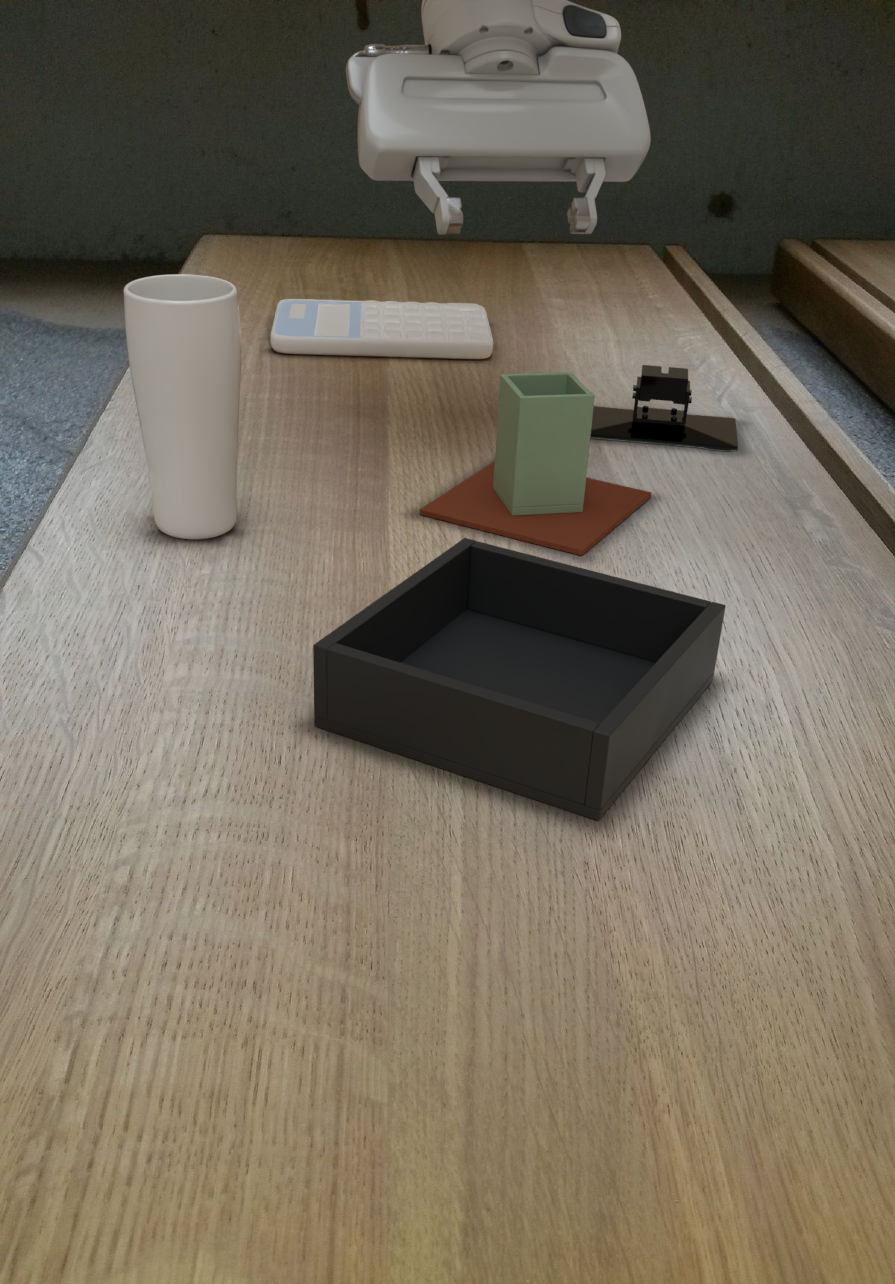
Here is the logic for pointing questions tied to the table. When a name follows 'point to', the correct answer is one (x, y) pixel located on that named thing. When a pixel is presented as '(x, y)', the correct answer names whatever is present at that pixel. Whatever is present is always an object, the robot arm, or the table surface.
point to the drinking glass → (187, 397)
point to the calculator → (381, 329)
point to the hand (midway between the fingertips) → (518, 229)
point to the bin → (519, 673)
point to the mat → (560, 531)
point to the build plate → (664, 416)
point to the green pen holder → (542, 442)
